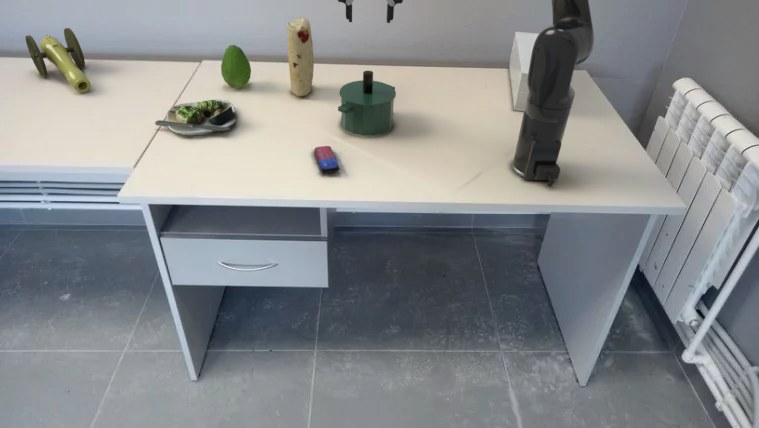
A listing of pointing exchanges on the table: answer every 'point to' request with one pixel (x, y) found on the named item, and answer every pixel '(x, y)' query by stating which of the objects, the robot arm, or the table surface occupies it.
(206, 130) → the salad plate
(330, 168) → the eraser
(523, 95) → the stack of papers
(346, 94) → the lid
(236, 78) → the avocado
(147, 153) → the table surface
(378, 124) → the pot
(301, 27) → the food model
